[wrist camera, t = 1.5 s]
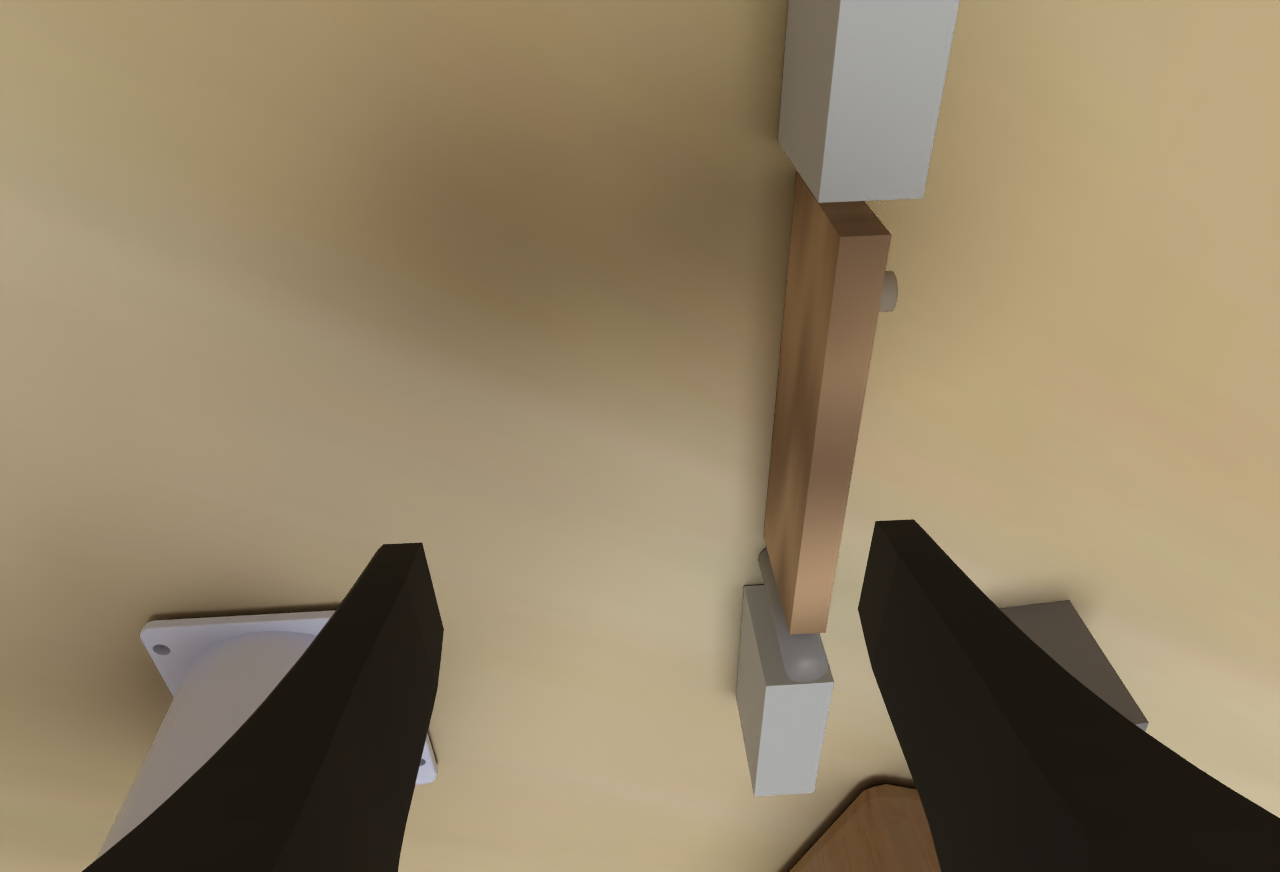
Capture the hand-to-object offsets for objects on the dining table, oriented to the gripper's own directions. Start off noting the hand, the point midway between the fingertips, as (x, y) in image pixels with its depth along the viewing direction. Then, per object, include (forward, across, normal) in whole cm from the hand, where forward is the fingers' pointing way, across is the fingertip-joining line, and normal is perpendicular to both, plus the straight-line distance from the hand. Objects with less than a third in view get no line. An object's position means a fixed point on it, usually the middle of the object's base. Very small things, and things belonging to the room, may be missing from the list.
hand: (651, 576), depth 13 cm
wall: (+9, -5, +3) cm, 11 cm away
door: (+10, -5, +3) cm, 11 cm away
